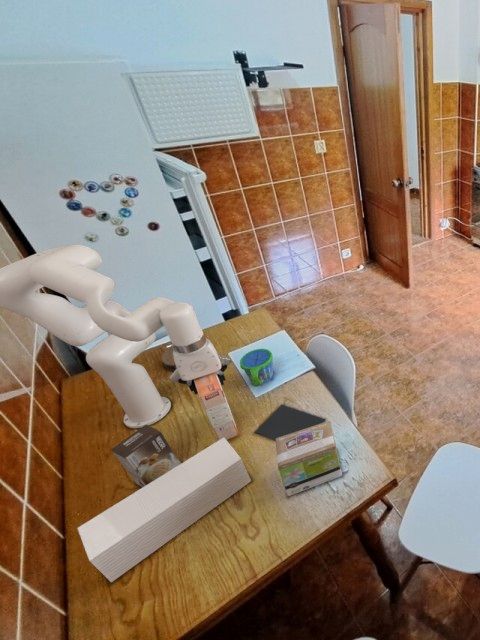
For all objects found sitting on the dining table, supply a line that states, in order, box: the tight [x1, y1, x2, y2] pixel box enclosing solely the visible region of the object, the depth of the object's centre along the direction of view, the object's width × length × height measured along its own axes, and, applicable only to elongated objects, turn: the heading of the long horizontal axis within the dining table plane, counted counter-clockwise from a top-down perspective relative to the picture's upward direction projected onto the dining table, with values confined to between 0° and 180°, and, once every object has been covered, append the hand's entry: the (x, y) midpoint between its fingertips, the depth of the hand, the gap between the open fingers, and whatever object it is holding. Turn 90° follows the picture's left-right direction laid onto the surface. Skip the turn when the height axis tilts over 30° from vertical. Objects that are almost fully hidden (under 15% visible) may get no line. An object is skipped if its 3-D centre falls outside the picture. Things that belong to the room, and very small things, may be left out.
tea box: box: [274, 420, 343, 497], centre depth 111 cm, size 15×10×15 cm
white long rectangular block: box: [77, 438, 252, 583], centre depth 101 cm, size 32×11×11 cm, turn 142°
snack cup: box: [239, 348, 274, 387], centre depth 143 cm, size 16×10×10 cm
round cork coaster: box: [160, 348, 177, 372], centre depth 153 cm, size 16×16×3 cm
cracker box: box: [194, 372, 240, 441], centre depth 120 cm, size 14×6×21 cm, turn 41°
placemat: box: [254, 404, 326, 441], centre depth 128 cm, size 18×12×1 cm, turn 72°
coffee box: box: [110, 425, 182, 488], centre depth 108 cm, size 9×6×16 cm
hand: (209, 386), depth 120 cm, fingers closed on cracker box, 6 cm apart
